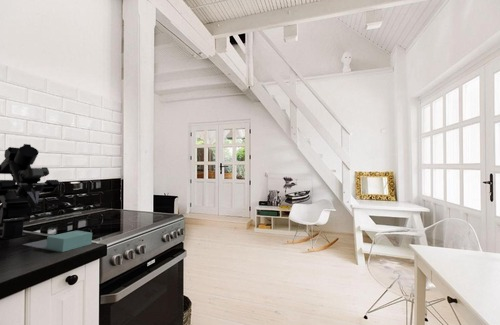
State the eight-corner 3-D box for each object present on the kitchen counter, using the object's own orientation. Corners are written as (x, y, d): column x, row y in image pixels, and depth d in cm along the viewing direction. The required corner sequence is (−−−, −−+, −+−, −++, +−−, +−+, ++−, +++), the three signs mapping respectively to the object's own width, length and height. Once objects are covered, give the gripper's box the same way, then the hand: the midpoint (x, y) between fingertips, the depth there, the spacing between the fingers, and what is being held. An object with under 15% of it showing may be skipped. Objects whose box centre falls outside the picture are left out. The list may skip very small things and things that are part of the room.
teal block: (47, 236, 77) (63, 239, 74) (76, 230, 86) (92, 232, 84) (46, 248, 77) (62, 251, 74) (76, 241, 86) (91, 243, 83)
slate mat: (22, 246, 80) (22, 244, 80) (55, 239, 90) (55, 237, 90) (59, 254, 74) (59, 251, 74) (90, 245, 84) (90, 243, 84)
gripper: (-1, 158, 81) (13, 194, 77) (59, 161, 99) (73, 190, 95) (-14, 178, 84) (-2, 213, 80) (46, 177, 102) (59, 206, 97)
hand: (36, 204), depth 88 cm, fingers closed
